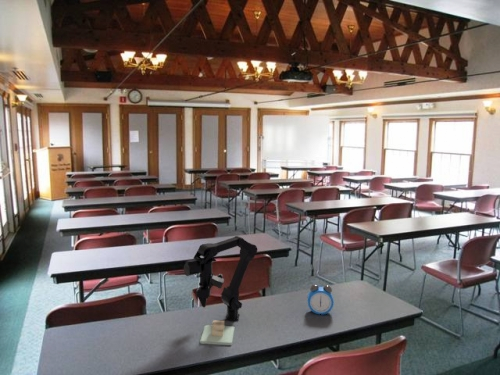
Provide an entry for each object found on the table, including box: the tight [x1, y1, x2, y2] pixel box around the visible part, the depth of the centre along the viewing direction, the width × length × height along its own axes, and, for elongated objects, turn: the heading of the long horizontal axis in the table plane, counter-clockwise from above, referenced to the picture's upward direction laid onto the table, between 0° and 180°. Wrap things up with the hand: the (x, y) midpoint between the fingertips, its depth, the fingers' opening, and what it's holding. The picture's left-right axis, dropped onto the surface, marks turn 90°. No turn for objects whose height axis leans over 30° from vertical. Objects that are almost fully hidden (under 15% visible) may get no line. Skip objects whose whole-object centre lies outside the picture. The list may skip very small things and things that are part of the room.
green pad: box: [199, 324, 236, 346], centre depth 175 cm, size 14×14×1 cm
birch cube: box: [211, 319, 225, 337], centre depth 175 cm, size 5×5×5 cm
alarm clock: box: [307, 283, 334, 315], centre depth 199 cm, size 13×6×15 cm, turn 83°
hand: (205, 302), depth 181 cm, fingers open, 9 cm apart
